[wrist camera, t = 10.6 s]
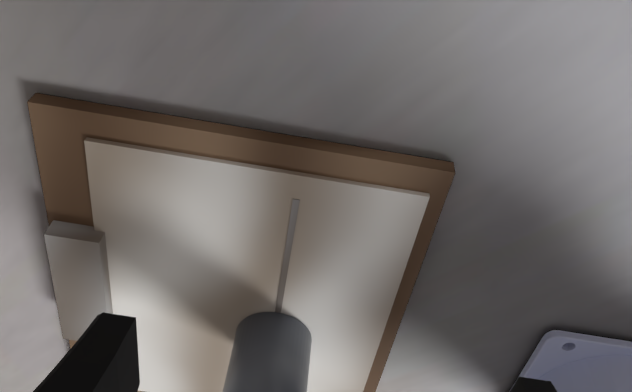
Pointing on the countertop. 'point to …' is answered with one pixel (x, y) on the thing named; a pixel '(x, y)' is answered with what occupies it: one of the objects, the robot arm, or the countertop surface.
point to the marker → (269, 355)
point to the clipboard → (230, 238)
